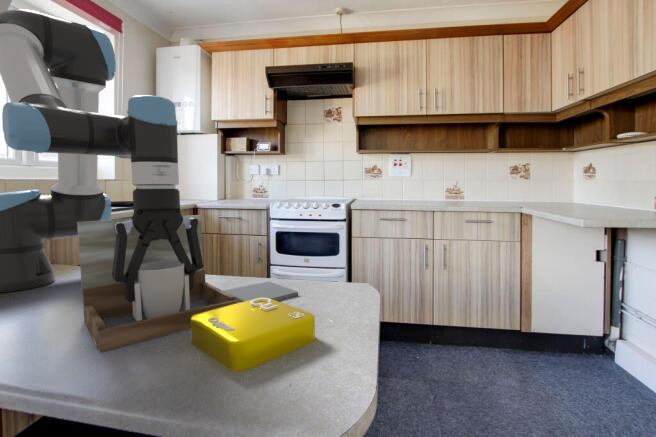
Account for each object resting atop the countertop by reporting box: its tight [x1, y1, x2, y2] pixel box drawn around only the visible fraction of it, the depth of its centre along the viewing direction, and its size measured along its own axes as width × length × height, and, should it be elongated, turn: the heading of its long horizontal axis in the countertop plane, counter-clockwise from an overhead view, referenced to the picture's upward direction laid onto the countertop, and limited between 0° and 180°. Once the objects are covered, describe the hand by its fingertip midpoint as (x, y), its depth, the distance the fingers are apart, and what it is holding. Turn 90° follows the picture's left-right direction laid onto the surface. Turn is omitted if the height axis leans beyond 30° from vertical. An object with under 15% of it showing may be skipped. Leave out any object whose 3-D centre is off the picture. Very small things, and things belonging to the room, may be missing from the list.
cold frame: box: [77, 214, 239, 353], centre depth 65 cm, size 17×22×18 cm
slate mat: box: [223, 281, 299, 303], centre depth 80 cm, size 12×12×1 cm
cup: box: [136, 261, 184, 320], centre depth 65 cm, size 8×8×10 cm
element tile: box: [190, 297, 316, 372], centre depth 57 cm, size 15×15×5 cm
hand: (162, 312), depth 66 cm, fingers closed on cup, 8 cm apart
